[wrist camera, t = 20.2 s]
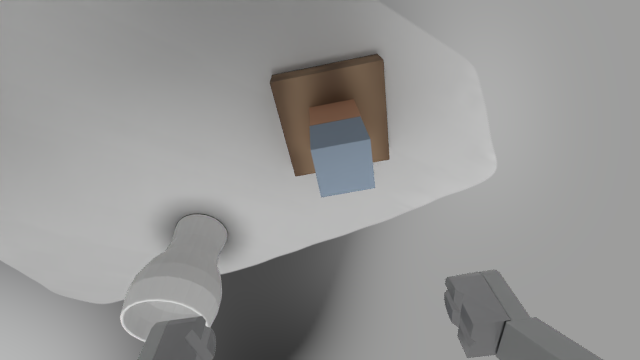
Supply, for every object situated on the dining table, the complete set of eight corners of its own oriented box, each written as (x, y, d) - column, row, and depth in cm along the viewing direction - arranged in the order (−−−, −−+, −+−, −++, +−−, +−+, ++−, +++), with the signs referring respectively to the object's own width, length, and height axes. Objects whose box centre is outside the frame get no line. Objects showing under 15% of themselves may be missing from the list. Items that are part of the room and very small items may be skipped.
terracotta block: (317, 147, 36) (319, 168, 32) (309, 107, 33) (310, 125, 29) (358, 139, 36) (366, 160, 31) (353, 99, 33) (361, 115, 29)
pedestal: (295, 164, 40) (295, 176, 38) (272, 75, 34) (269, 82, 31) (383, 148, 40) (389, 159, 37) (377, 53, 33) (383, 59, 31)
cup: (249, 226, 46) (229, 317, 34) (217, 265, 51) (189, 357, 38) (183, 194, 42) (133, 283, 30) (155, 239, 47) (101, 333, 34)
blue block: (318, 169, 32) (321, 197, 28) (309, 126, 29) (310, 150, 25) (365, 160, 31) (375, 187, 27) (360, 116, 29) (370, 139, 24)
